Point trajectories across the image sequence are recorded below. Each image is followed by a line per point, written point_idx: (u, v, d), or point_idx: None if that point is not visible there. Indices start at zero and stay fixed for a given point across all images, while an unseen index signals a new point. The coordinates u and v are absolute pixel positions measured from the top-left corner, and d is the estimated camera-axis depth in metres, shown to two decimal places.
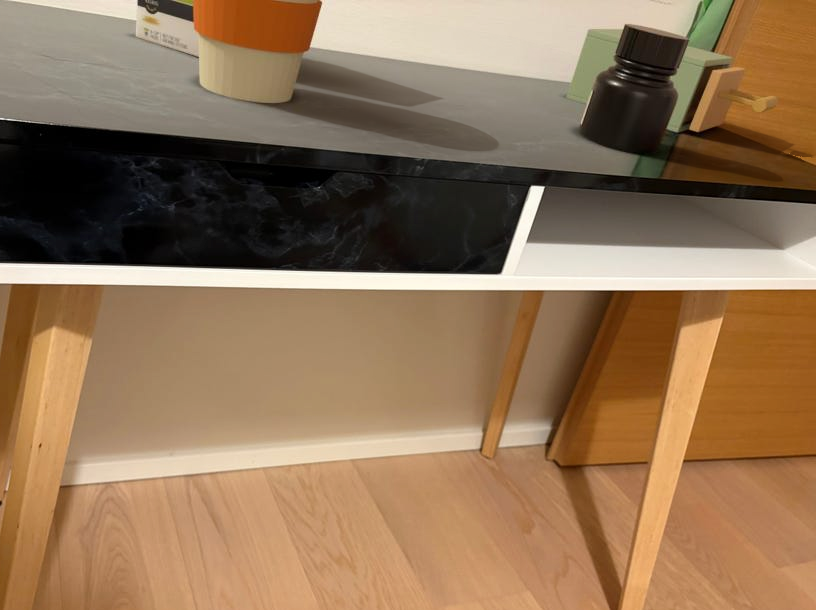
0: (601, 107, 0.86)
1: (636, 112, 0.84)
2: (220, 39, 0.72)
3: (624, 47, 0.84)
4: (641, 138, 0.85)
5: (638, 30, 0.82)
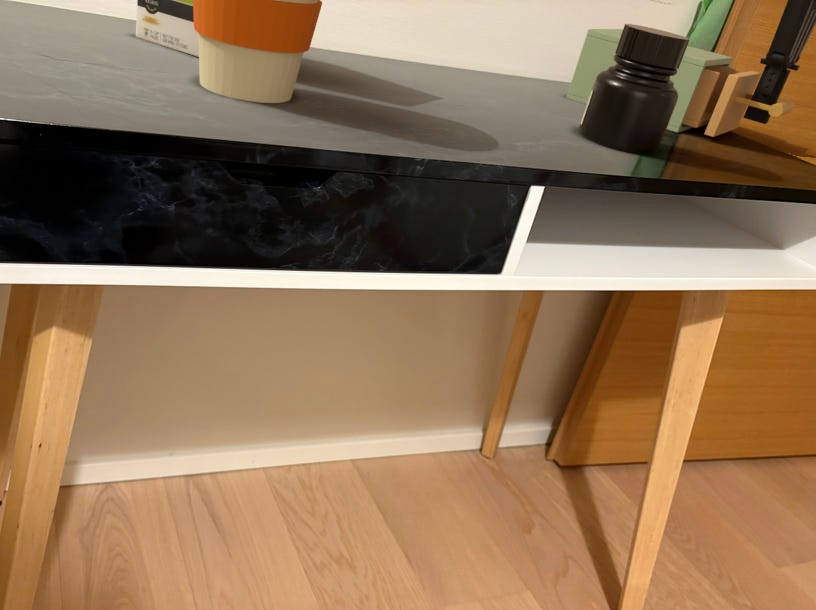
0: (601, 107, 0.86)
1: (636, 112, 0.84)
2: (220, 39, 0.72)
3: (624, 47, 0.84)
4: (641, 138, 0.85)
5: (638, 30, 0.82)
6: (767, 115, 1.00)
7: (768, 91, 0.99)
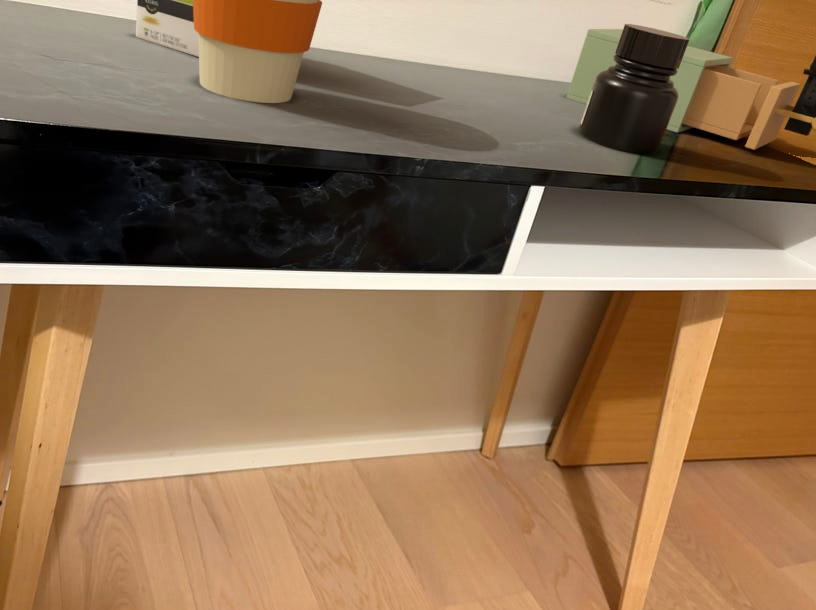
0: (601, 107, 0.86)
1: (636, 112, 0.84)
2: (220, 39, 0.72)
3: (624, 47, 0.84)
4: (641, 138, 0.85)
5: (638, 30, 0.82)
6: (809, 126, 0.98)
7: (811, 102, 0.96)
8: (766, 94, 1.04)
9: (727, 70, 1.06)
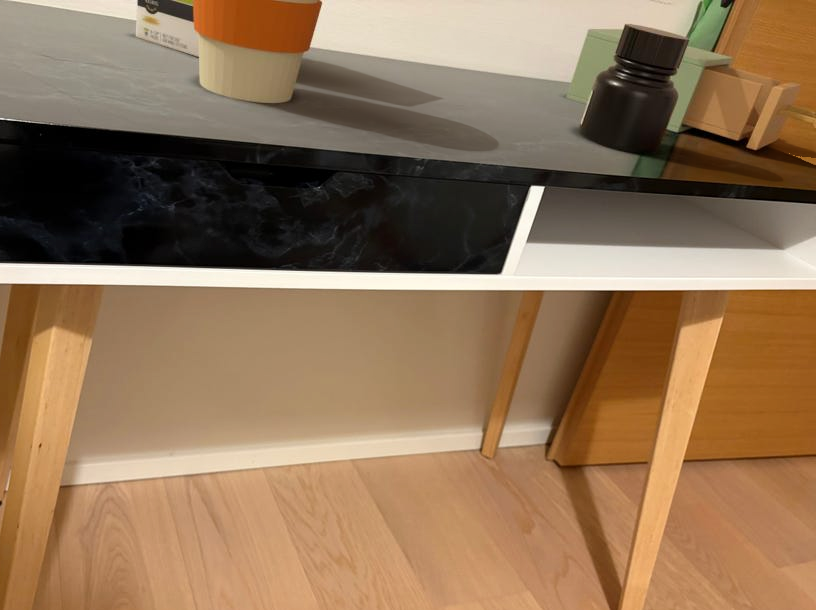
0: (601, 107, 0.86)
1: (636, 112, 0.84)
2: (220, 39, 0.72)
3: (624, 47, 0.84)
4: (641, 138, 0.85)
5: (638, 30, 0.82)
6: None
7: None
8: (767, 94, 1.04)
9: (728, 70, 1.06)
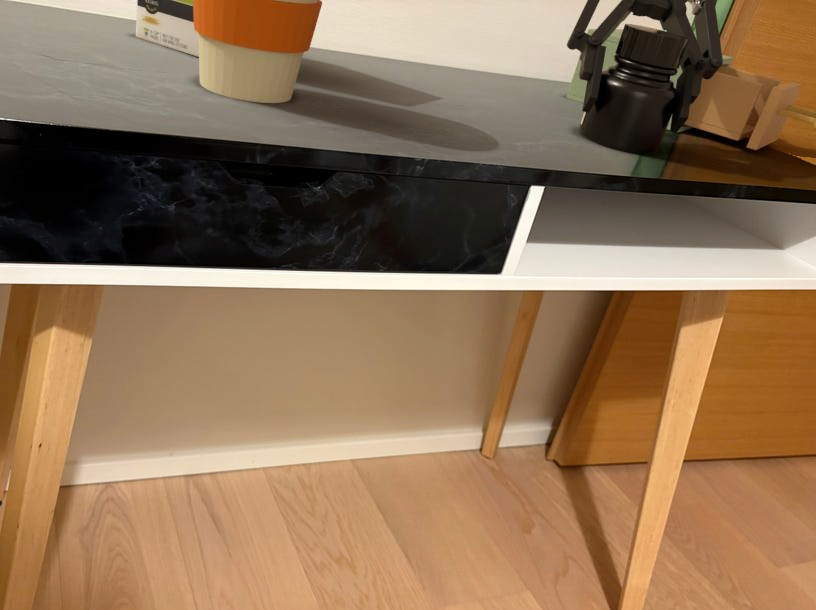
0: (601, 107, 0.86)
1: (636, 112, 0.84)
2: (220, 39, 0.72)
3: (624, 47, 0.84)
4: (641, 138, 0.85)
5: (638, 30, 0.82)
6: (591, 88, 0.84)
7: (582, 69, 0.86)
8: (767, 94, 1.04)
9: (728, 70, 1.06)
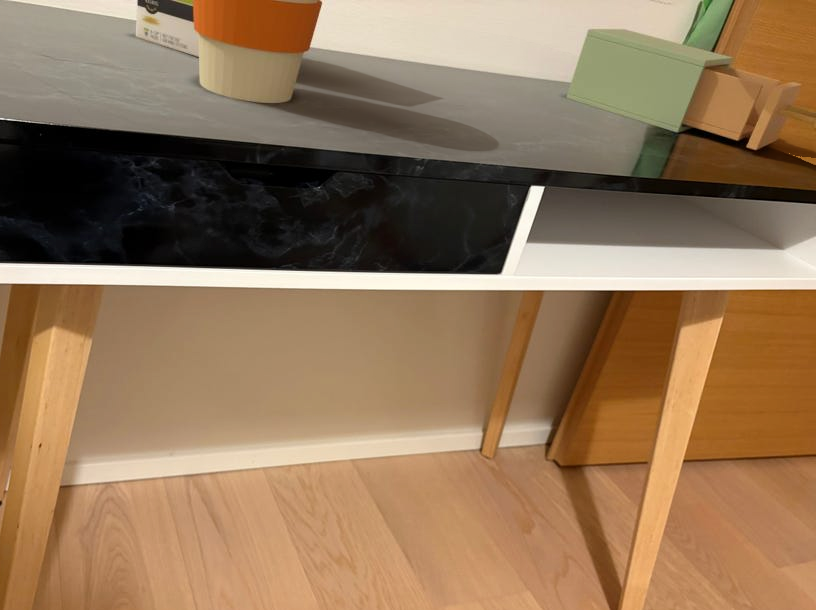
0: None
1: None
2: (220, 39, 0.72)
3: None
4: None
5: None
6: None
7: None
8: (767, 94, 1.04)
9: (728, 70, 1.06)
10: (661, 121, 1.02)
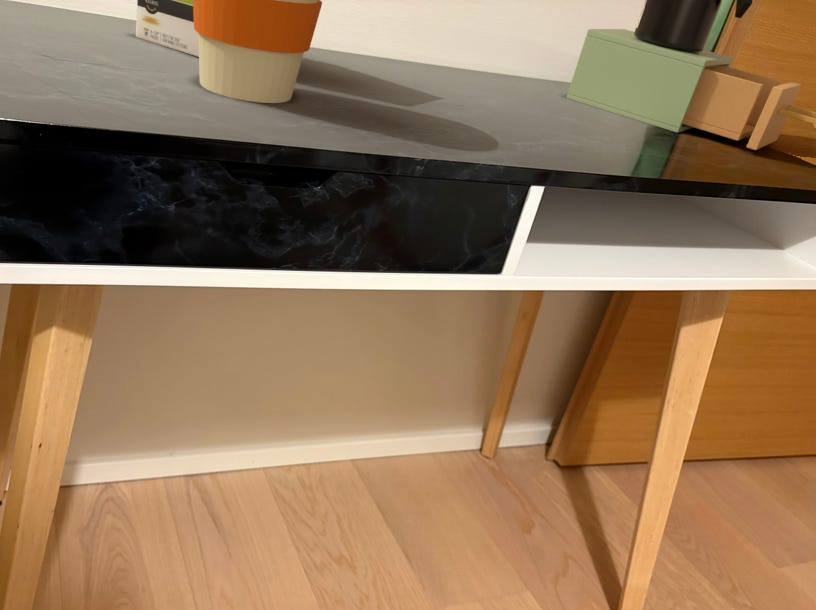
0: (656, 9, 1.00)
1: (686, 12, 0.99)
2: (220, 39, 0.72)
3: None
4: (690, 36, 1.00)
5: None
6: None
7: None
8: (767, 94, 1.04)
9: (728, 70, 1.06)
10: (661, 121, 1.02)
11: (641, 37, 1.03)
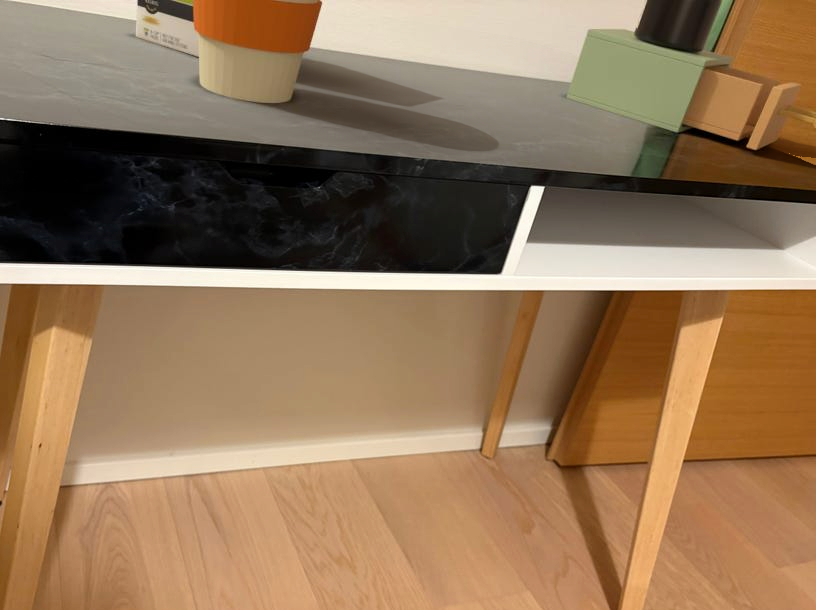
0: (656, 9, 1.00)
1: (686, 12, 0.99)
2: (220, 39, 0.72)
3: None
4: (690, 36, 1.00)
5: None
6: None
7: None
8: (767, 94, 1.04)
9: (728, 70, 1.06)
10: (661, 121, 1.02)
11: (641, 37, 1.03)
